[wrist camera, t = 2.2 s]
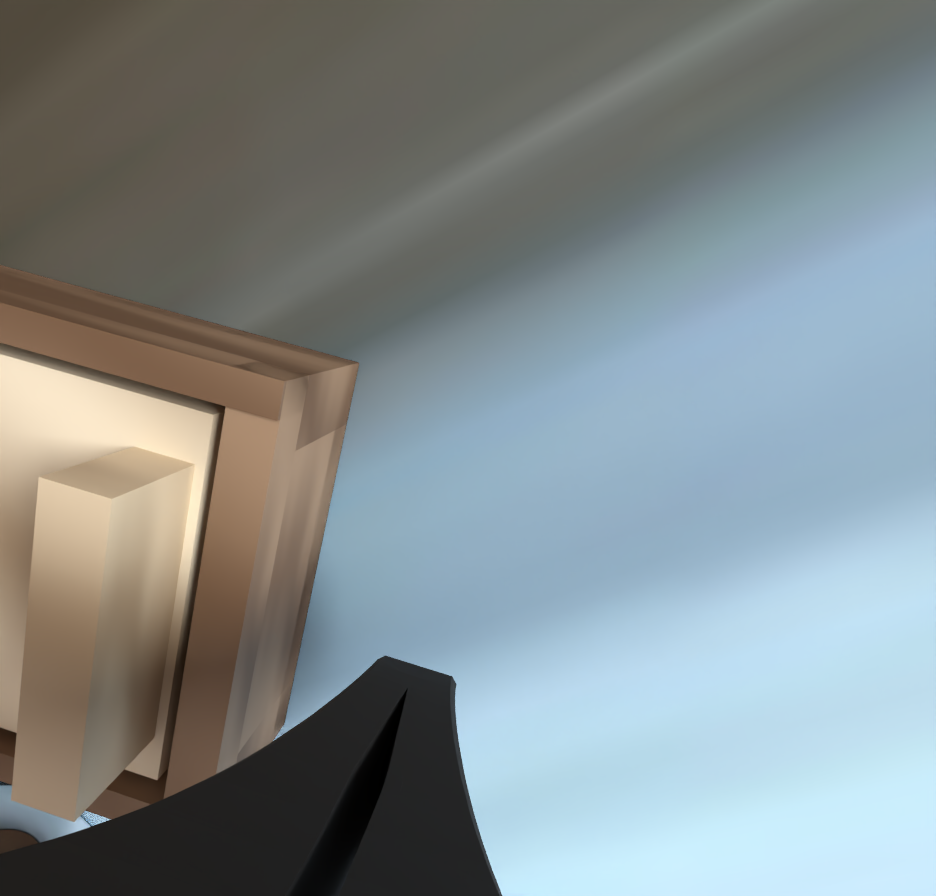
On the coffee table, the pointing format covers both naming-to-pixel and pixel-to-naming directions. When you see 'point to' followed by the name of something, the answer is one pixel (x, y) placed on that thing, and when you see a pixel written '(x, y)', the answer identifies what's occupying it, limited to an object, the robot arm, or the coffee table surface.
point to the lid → (96, 571)
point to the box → (215, 506)
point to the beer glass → (30, 824)
